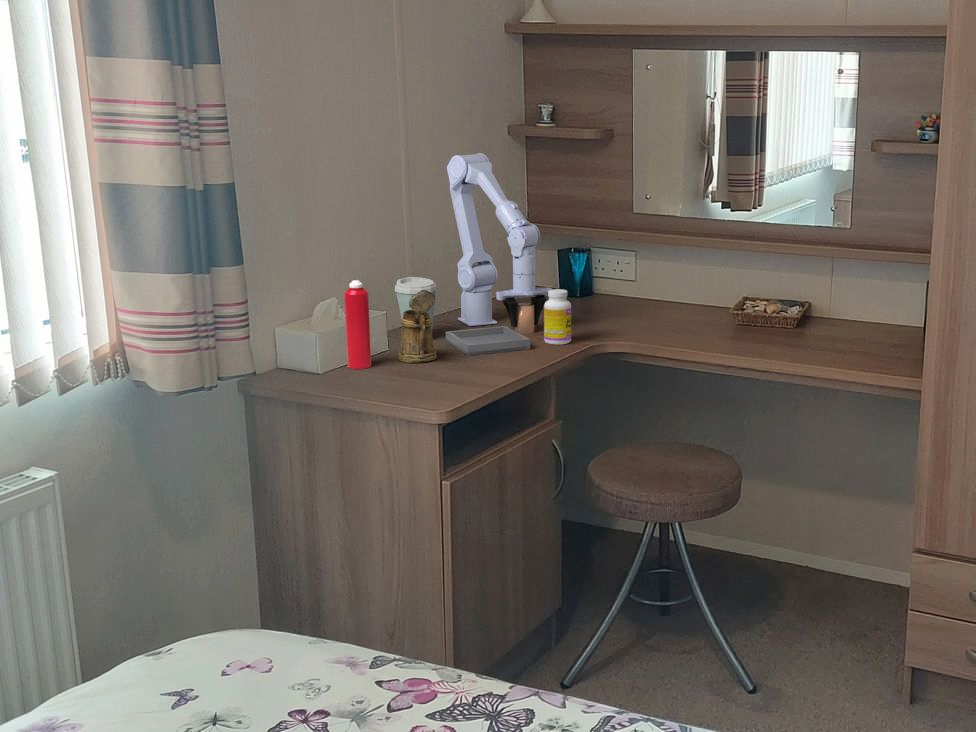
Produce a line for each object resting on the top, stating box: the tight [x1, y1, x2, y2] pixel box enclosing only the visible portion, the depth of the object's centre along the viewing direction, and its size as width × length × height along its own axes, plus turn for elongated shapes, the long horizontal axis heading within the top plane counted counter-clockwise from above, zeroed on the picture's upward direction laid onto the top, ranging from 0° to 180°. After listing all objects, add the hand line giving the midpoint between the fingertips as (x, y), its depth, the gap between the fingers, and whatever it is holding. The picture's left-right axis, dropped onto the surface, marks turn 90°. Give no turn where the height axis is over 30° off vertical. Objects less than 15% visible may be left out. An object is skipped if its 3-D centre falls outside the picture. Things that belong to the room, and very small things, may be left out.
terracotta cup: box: [514, 302, 535, 335], centre depth 300 cm, size 5×5×7 cm
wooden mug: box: [397, 290, 437, 364], centre depth 271 cm, size 9×14×18 cm, turn 17°
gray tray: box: [445, 325, 531, 357], centre depth 287 cm, size 16×16×2 cm
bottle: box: [343, 279, 372, 370], centre depth 267 cm, size 5×5×20 cm
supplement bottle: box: [543, 288, 572, 346], centre depth 288 cm, size 7×7×13 cm
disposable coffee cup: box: [394, 276, 438, 333], centre depth 293 cm, size 11×11×15 cm
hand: (524, 325), depth 301 cm, fingers open, 5 cm apart
